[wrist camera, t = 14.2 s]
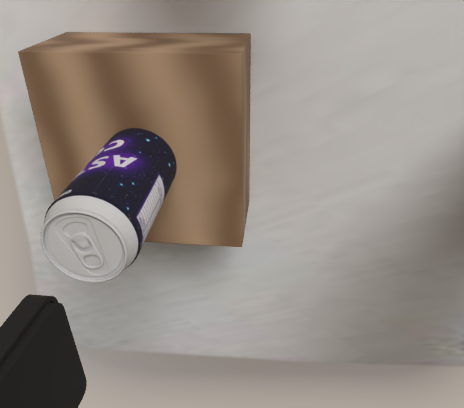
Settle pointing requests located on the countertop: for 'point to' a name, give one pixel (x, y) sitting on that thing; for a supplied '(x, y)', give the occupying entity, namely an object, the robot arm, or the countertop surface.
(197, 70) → the walnut block
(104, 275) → the beverage can
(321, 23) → the countertop surface
